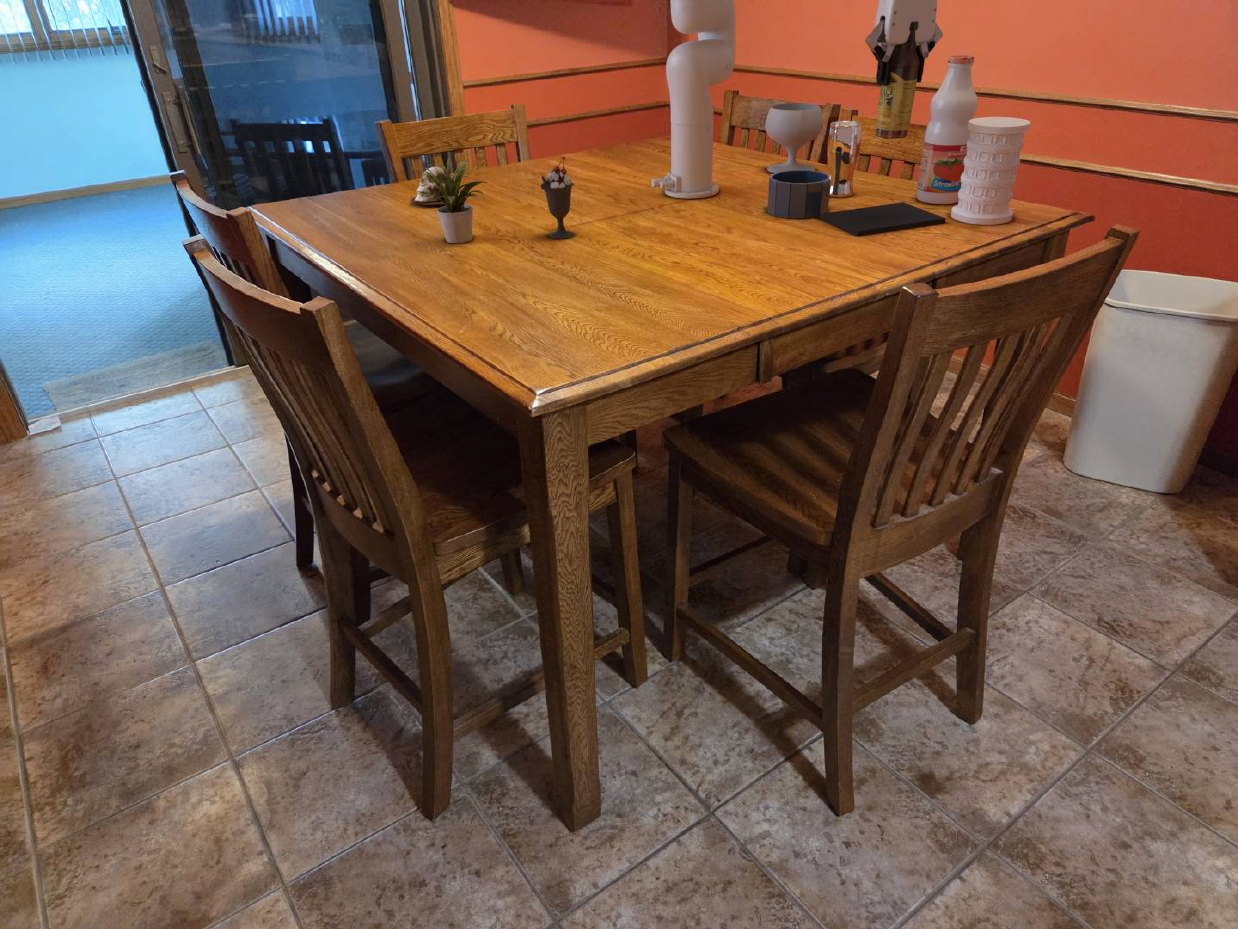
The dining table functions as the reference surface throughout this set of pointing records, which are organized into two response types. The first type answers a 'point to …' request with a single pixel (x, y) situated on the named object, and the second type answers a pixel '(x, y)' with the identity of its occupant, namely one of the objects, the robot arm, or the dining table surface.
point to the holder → (798, 194)
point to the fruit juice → (947, 134)
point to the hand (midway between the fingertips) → (898, 82)
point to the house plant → (454, 203)
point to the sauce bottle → (899, 90)
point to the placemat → (881, 218)
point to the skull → (429, 188)
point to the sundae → (558, 198)
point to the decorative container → (990, 170)
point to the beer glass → (843, 156)
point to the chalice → (793, 131)
